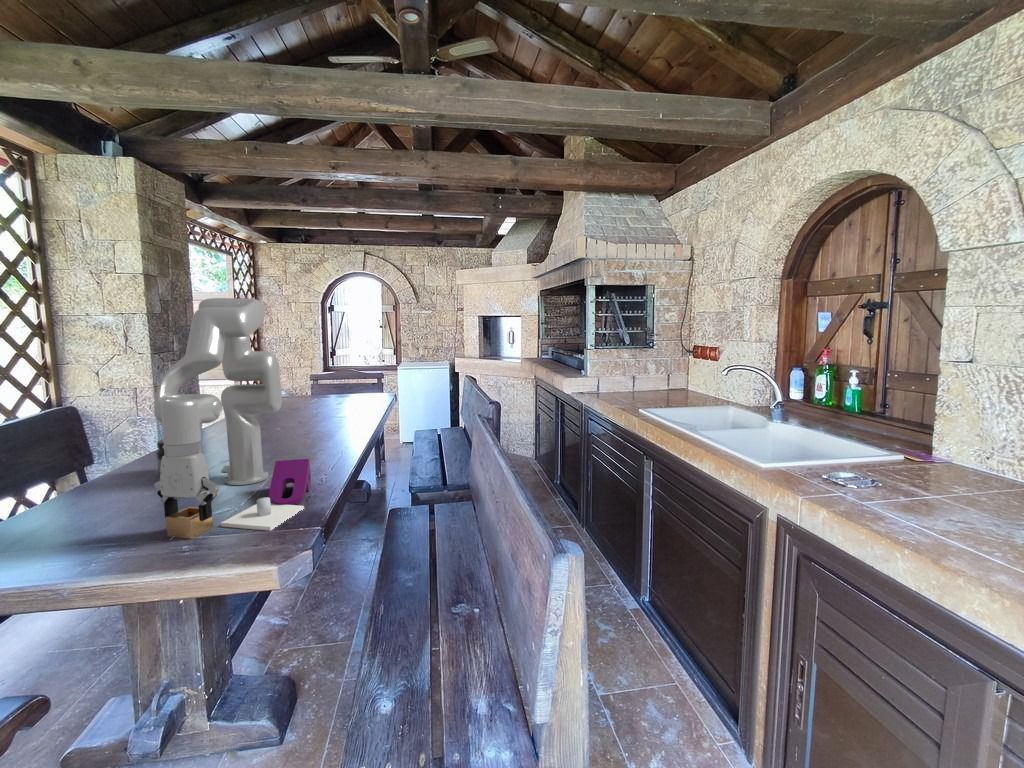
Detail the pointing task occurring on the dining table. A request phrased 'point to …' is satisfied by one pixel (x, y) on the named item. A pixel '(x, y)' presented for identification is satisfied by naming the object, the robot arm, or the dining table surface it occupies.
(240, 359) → the robot arm
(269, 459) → the dining table surface
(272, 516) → the flange
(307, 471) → the mounting bracket
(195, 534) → the open wooden box
